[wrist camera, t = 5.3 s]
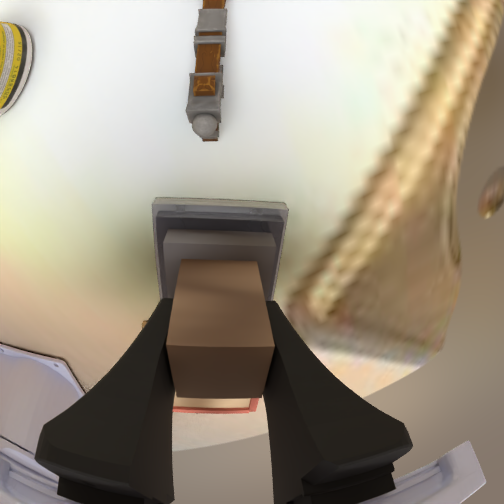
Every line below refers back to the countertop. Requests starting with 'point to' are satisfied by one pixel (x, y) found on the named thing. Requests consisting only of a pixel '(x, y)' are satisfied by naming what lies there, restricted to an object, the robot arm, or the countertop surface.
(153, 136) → the countertop surface
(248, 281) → the stamp
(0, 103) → the supplement bottle
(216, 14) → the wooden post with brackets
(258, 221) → the ink pad
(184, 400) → the red rimmed tray
